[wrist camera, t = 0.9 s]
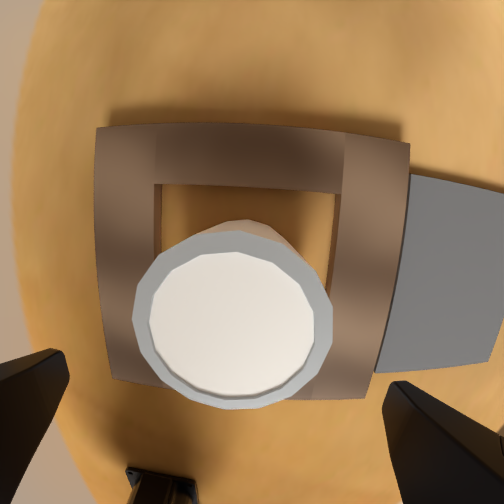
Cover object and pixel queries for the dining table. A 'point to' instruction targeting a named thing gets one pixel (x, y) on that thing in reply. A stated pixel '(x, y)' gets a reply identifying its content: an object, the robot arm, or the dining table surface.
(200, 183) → the board
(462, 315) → the rubber mat
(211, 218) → the dining table surface
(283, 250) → the white cup
